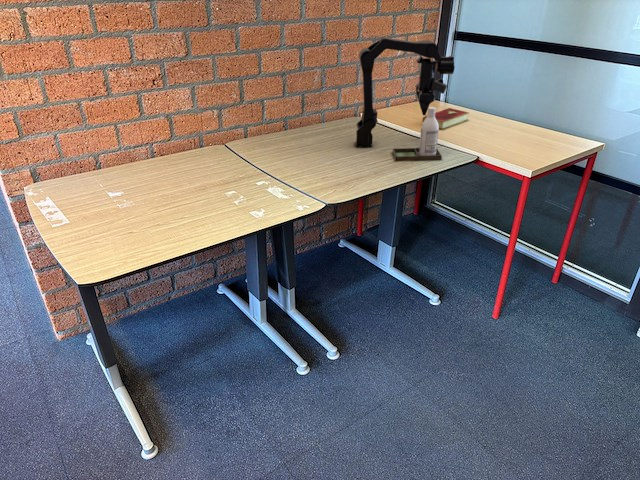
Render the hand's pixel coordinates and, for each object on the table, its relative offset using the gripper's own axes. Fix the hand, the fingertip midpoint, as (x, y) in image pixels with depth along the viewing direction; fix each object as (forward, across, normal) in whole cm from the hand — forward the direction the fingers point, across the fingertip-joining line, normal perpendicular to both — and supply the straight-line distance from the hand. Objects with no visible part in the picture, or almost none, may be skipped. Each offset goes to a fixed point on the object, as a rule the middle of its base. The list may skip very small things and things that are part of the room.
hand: (423, 112), depth 207 cm
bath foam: (+14, -15, -2) cm, 21 cm away
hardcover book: (+14, +31, -15) cm, 37 cm away
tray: (+14, -15, +3) cm, 21 cm away
